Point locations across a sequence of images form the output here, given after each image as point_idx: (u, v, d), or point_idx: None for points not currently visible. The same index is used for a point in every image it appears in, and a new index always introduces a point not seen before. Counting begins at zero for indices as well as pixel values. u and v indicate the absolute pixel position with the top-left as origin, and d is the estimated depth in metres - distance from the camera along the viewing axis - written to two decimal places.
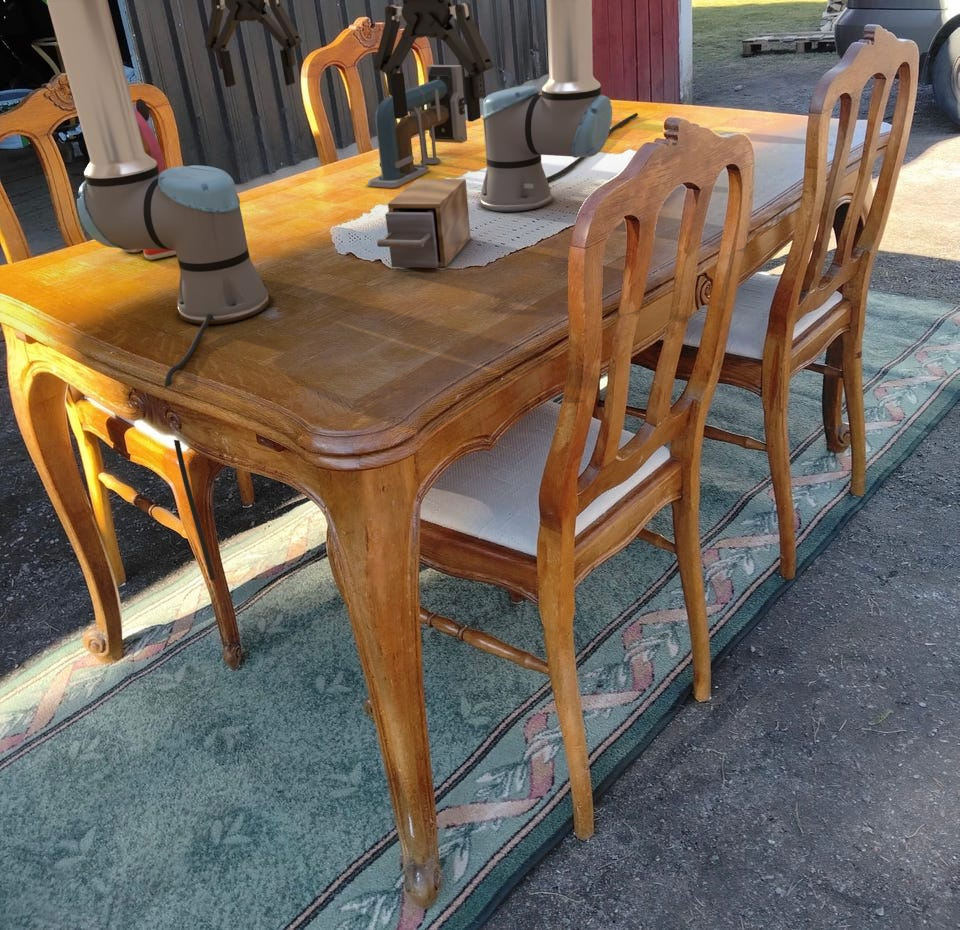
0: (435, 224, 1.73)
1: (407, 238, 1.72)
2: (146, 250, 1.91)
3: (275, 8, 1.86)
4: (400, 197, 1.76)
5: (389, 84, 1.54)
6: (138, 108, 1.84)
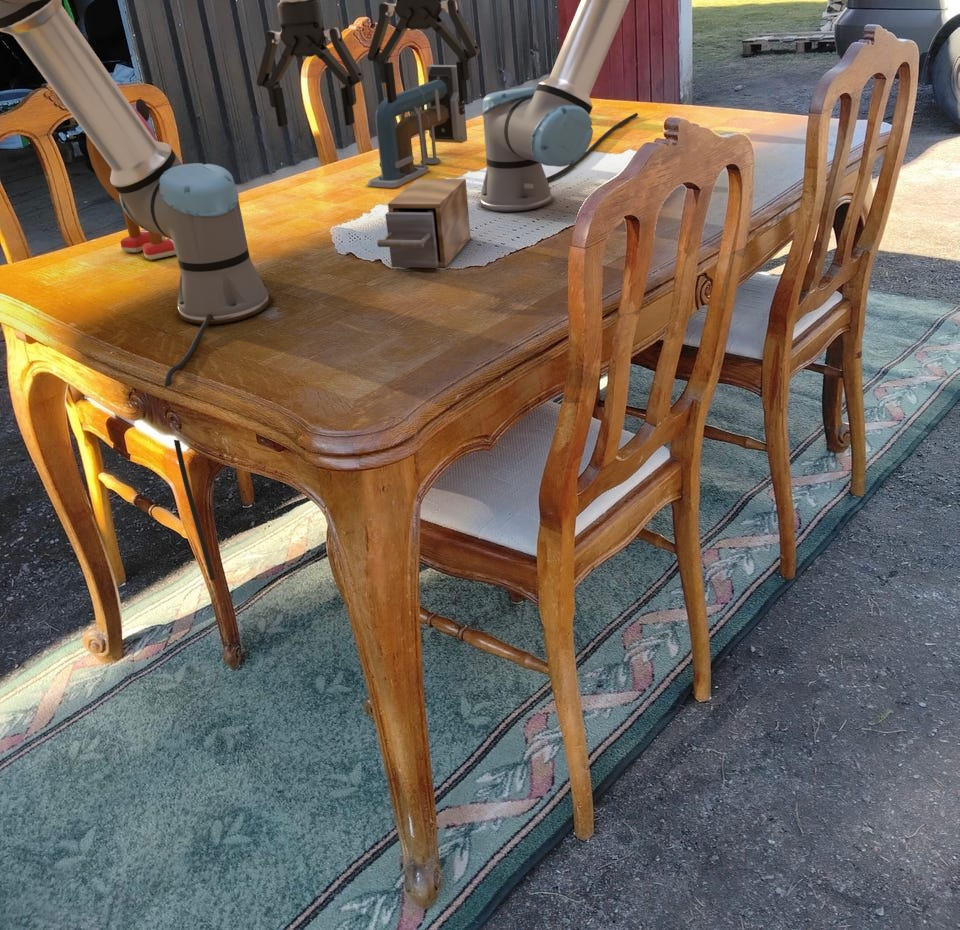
0: (435, 224, 1.73)
1: (407, 238, 1.72)
2: (146, 250, 1.91)
3: (337, 43, 1.71)
4: (400, 197, 1.76)
5: None
6: (138, 108, 1.84)
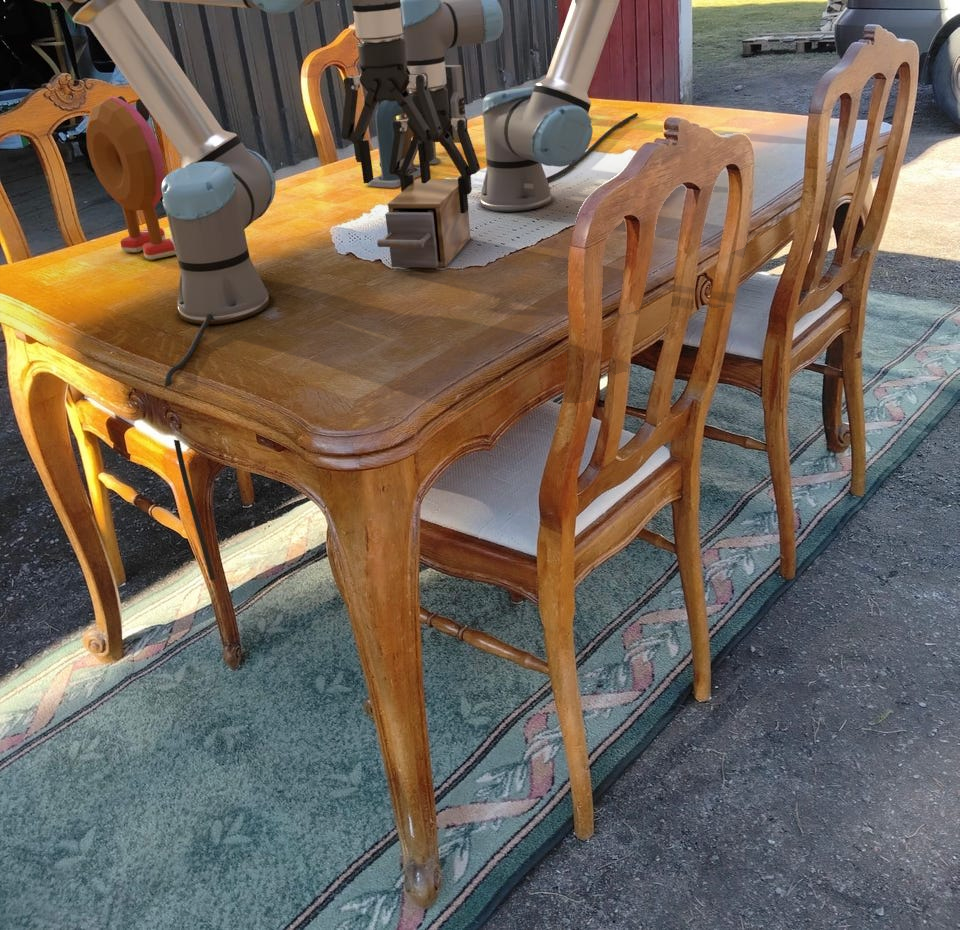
0: (435, 224, 1.73)
1: (407, 238, 1.72)
2: (146, 250, 1.91)
3: (422, 92, 1.54)
4: (400, 197, 1.76)
5: None
6: (138, 108, 1.84)
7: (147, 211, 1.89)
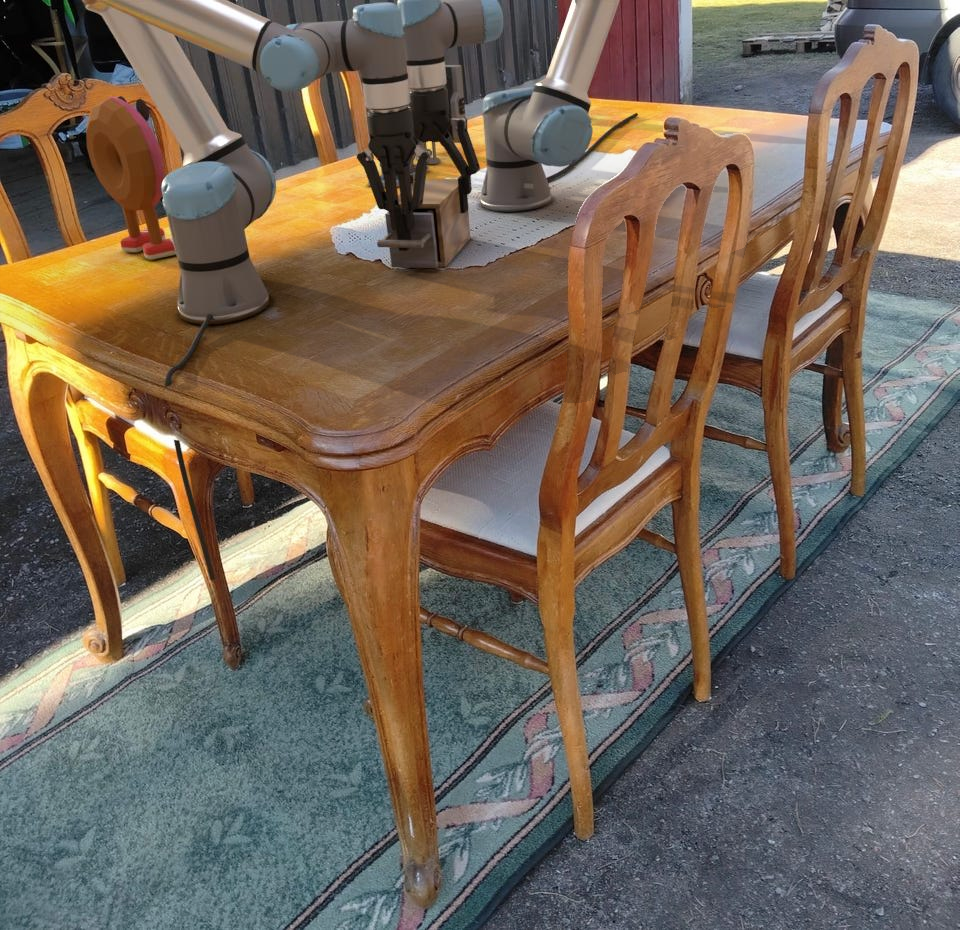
0: (435, 224, 1.73)
1: None
2: (146, 250, 1.91)
3: (421, 167, 1.60)
4: (400, 197, 1.76)
5: None
6: (138, 108, 1.84)
7: (147, 211, 1.89)
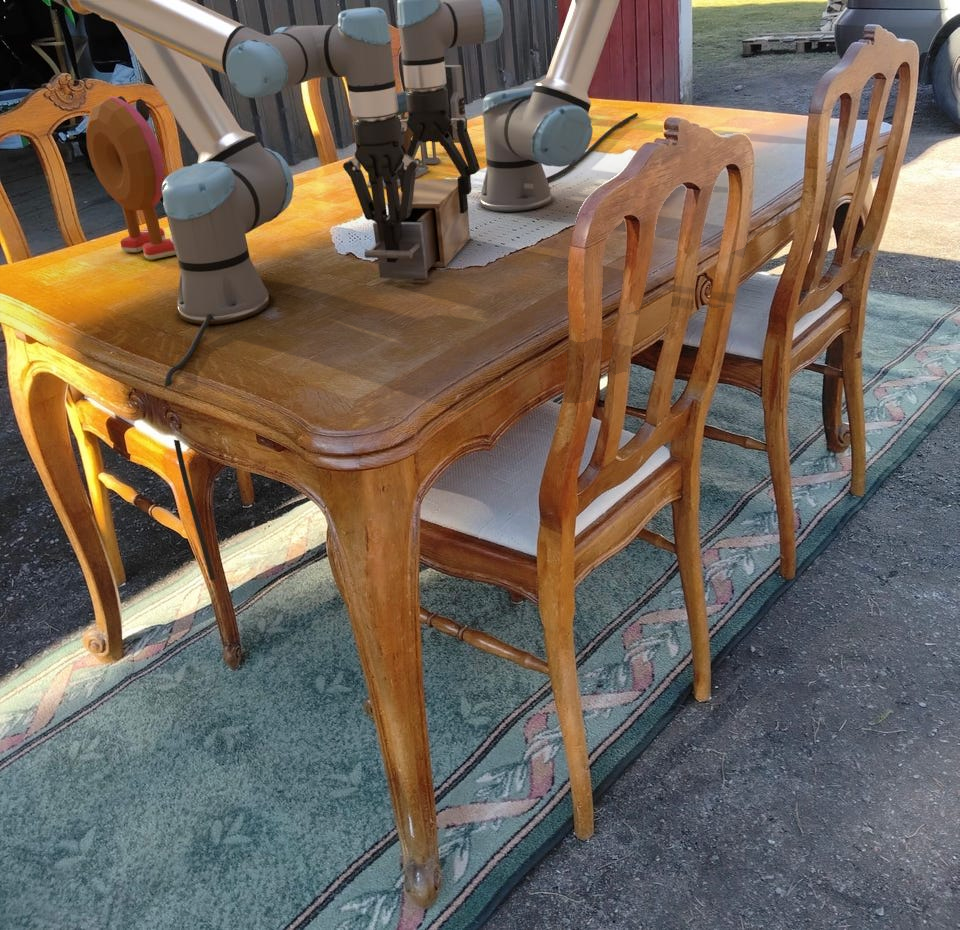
0: (424, 234, 1.69)
1: None
2: (146, 250, 1.91)
3: (409, 177, 1.55)
4: (400, 197, 1.76)
5: None
6: (138, 108, 1.84)
7: (147, 211, 1.89)
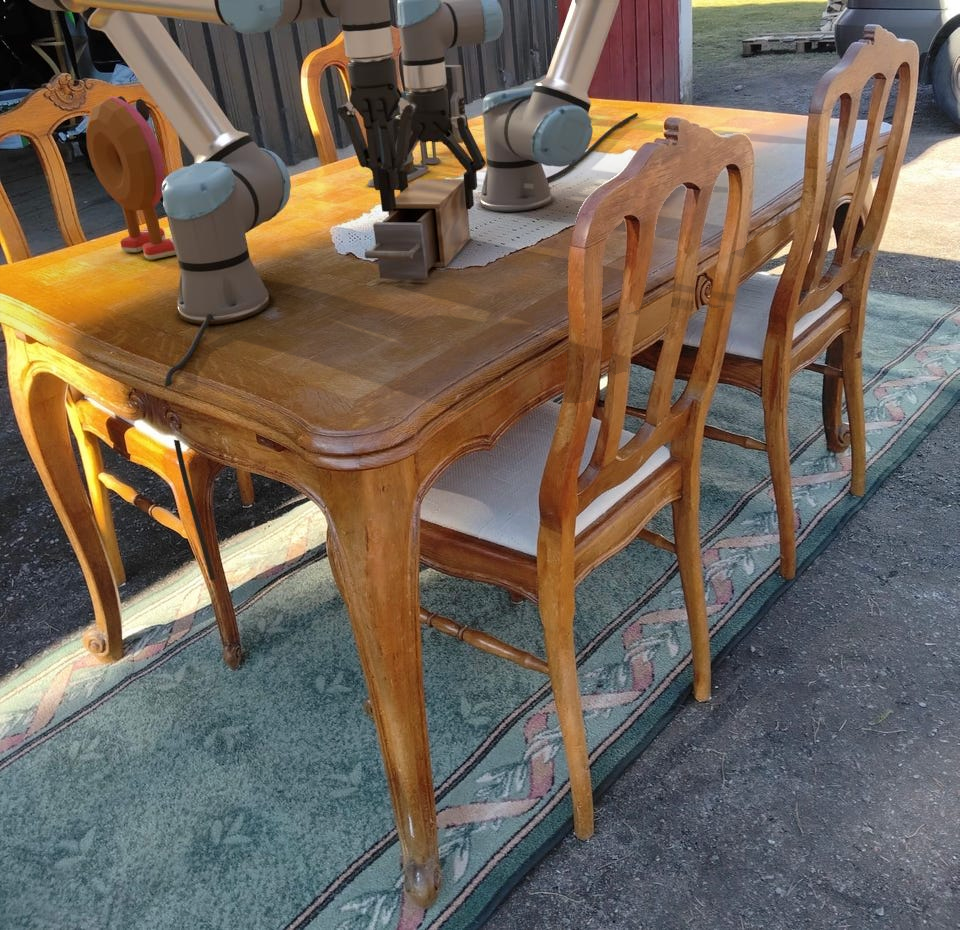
0: (424, 234, 1.69)
1: (396, 249, 1.67)
2: (146, 250, 1.91)
3: (405, 121, 1.52)
4: (400, 197, 1.76)
5: None
6: (138, 108, 1.84)
7: (147, 211, 1.89)
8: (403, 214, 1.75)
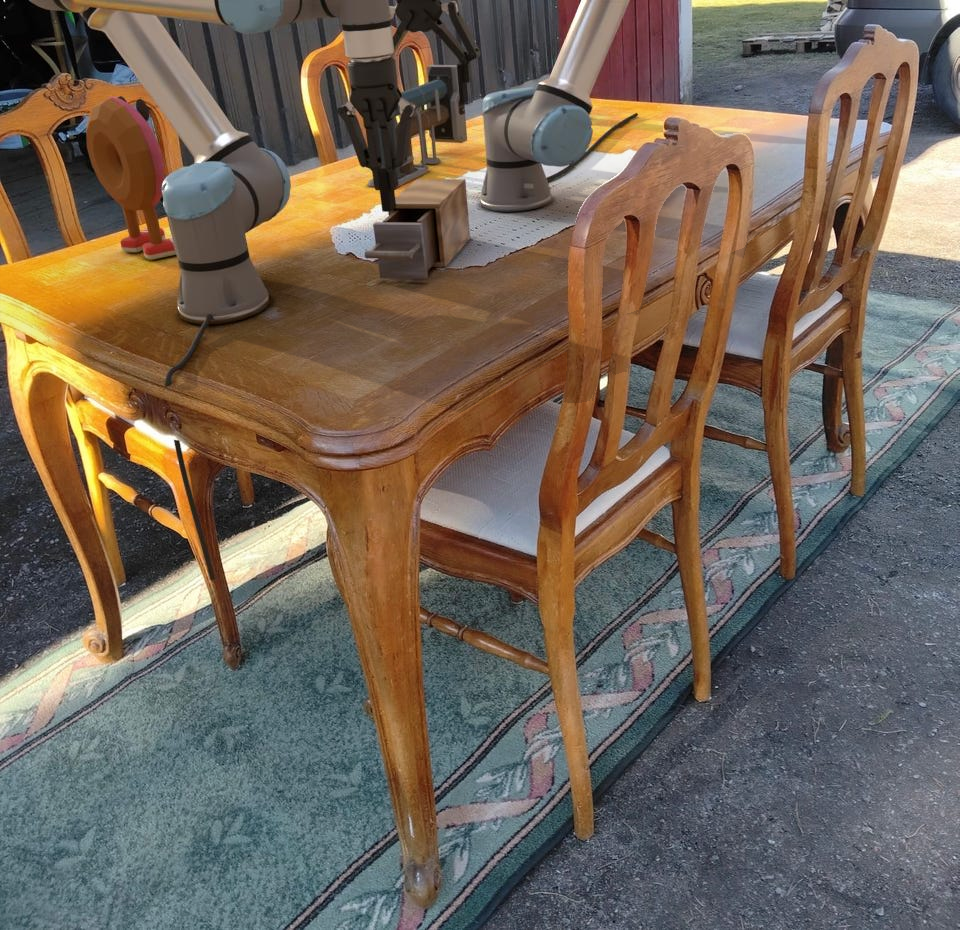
0: (424, 234, 1.69)
1: (396, 249, 1.67)
2: (146, 250, 1.91)
3: (405, 121, 1.52)
4: (400, 197, 1.76)
5: None
6: (138, 108, 1.84)
7: (147, 211, 1.89)
8: (403, 214, 1.75)
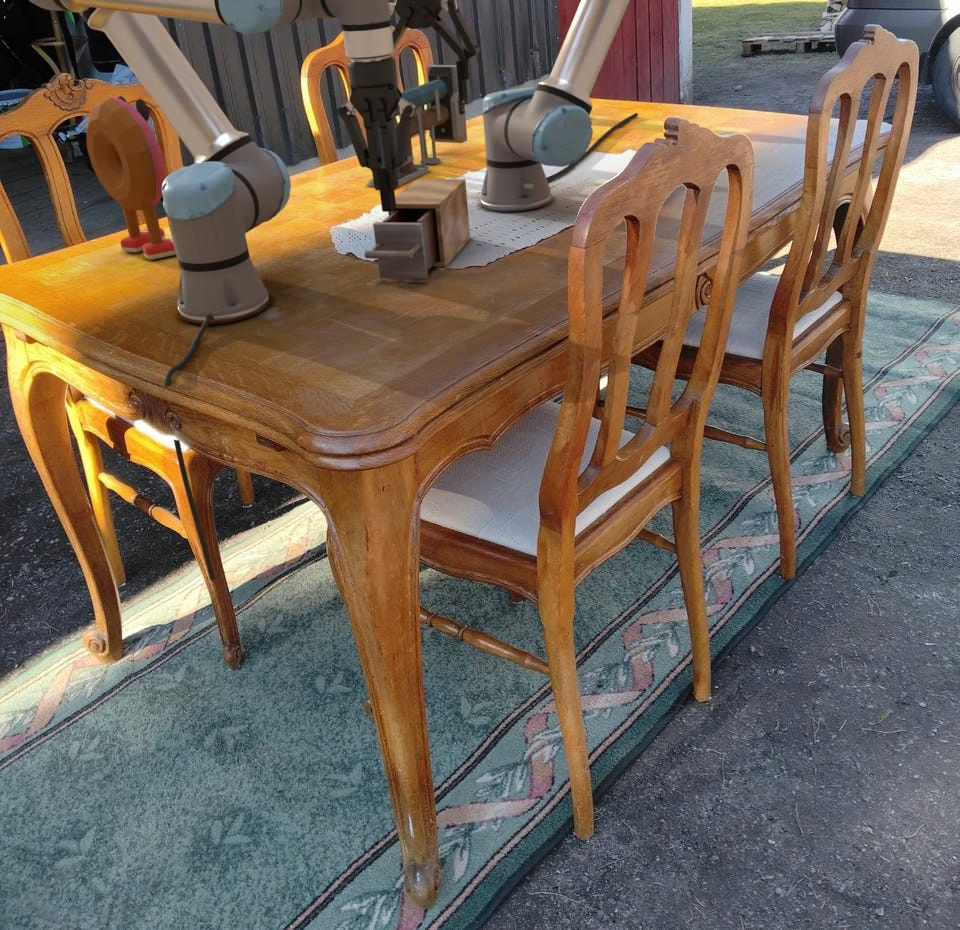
0: (424, 234, 1.69)
1: (396, 249, 1.67)
2: (146, 250, 1.91)
3: (405, 121, 1.52)
4: (400, 197, 1.76)
5: None
6: (138, 108, 1.84)
7: (147, 211, 1.89)
8: (403, 214, 1.75)
